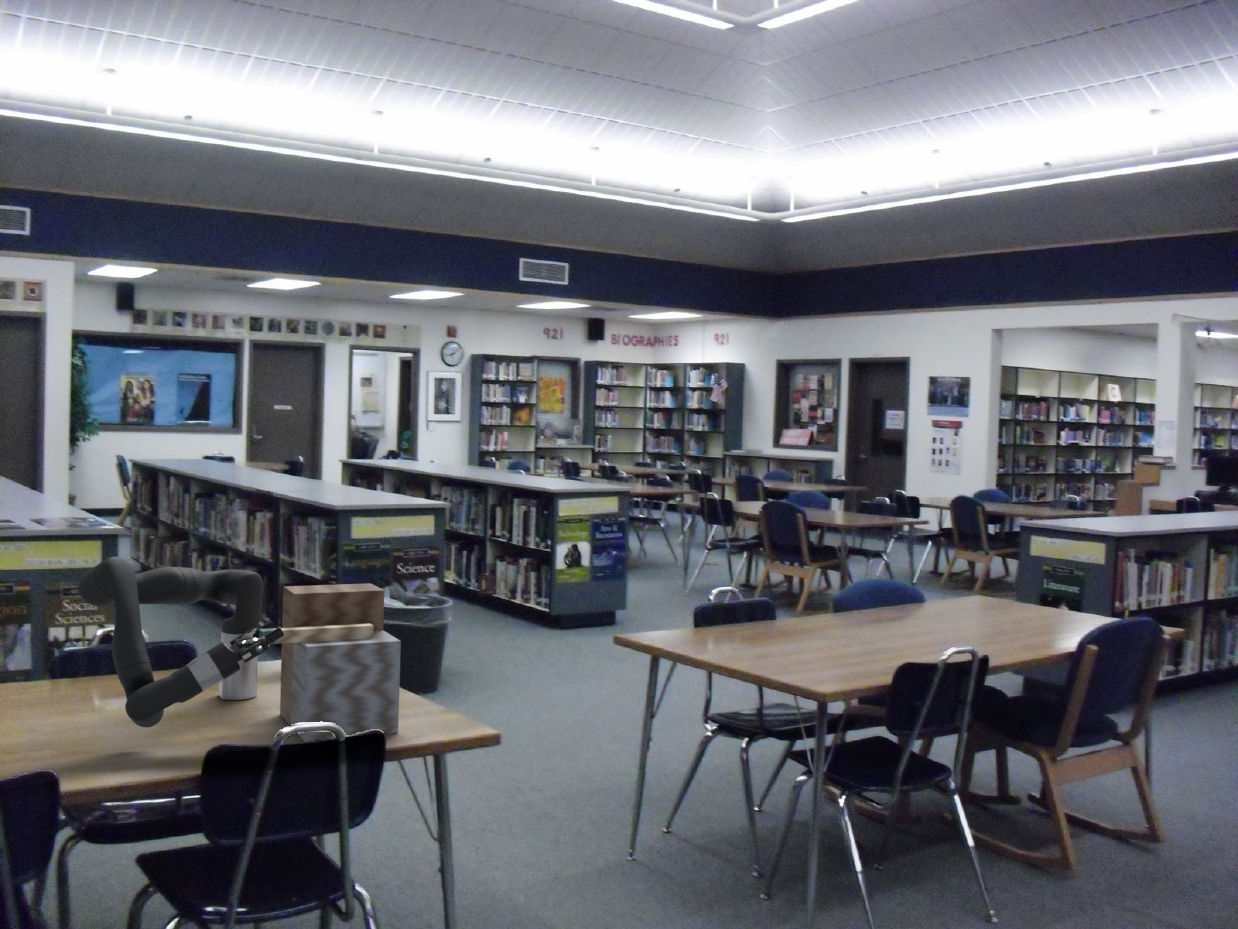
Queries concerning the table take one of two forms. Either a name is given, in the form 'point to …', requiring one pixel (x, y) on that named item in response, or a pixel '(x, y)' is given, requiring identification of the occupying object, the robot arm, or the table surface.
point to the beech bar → (322, 633)
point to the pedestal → (339, 662)
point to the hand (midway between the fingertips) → (278, 627)
